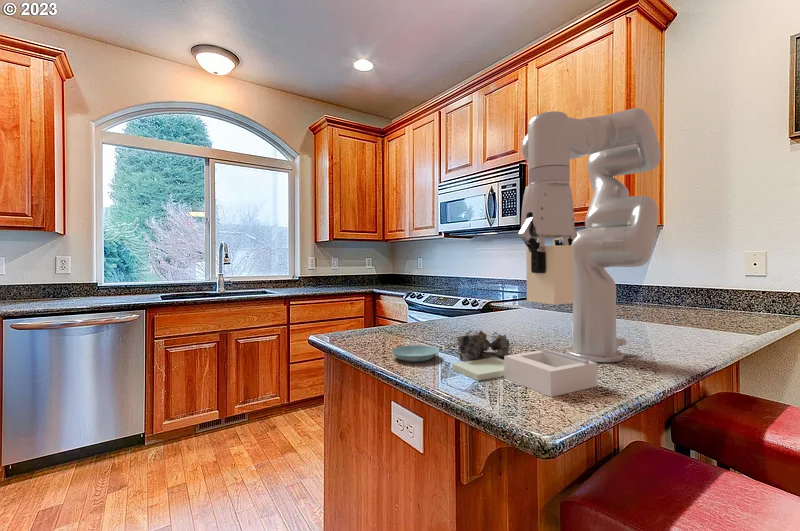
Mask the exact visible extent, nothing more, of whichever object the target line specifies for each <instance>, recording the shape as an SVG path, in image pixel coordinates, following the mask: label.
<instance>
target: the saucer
mask: <svg viewBox="0 0 800 531" xmlns="http://www.w3.org/2000/svg"><path fill="white" fill-rule="evenodd" d="M390 352H391V353H392V355H394V356H395V357H396V358H398V359H399V360H400V361H403V362H408V363H421V362H422V363H423V362H427V361H429V360H432V359H433V358H434V357H435V356H437V354H438V353H439V352H440V350H439V348H438V347H437V348H436V347H434V346H431V345H422V344H421V345H417V344H411V345H410V344H409V345H402V346H397V347H394V348H391V350H390Z"/></svg>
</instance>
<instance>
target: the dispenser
mask: <svg viewBox="0 0 800 531" xmlns="http://www.w3.org/2000/svg"><path fill="white" fill-rule="evenodd" d="M503 360H504V376H503V377H504V379H505V380H509V381H511V382H513V383H516V384H518V385H521V386H522V387H526V388H528V389H531V390H533V391H535V392H537V393H540V394H543V395H545V396H548V397H550V398H552V397H556V396H561V395H562V396H563V395H566V394H571V393H574V392H578V391H584V390H588V389H591V388H596V387H597V386H598V372H597V371H598V362H593V361H588V360H584V359H581V358H577V357H573V356H570V355H567V354H565V353H562V352H558V351H554V350H552V349H548V348H544V347H543V348H540V349H539V350H534V351H528V352H522V353H516V354H508V355H507V356H504V357H503Z"/></svg>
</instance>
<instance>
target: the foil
mask: <svg viewBox="0 0 800 531" xmlns="http://www.w3.org/2000/svg"><path fill="white" fill-rule="evenodd" d="M498 332H499V330H497V331H494V332H493V333H492V334H491V335H488V334H486V333H485V332H484V331H483V330H479V332H478V330H476V331H473V330H471V329H469V330H468V332H466V333H464V334H463V333H462V334H459V335H456V337H455V338H456V339H457V342H458V348H457V350H456V353H457V355H458V356H459V358H458V359H459V360H462V362H467V361H473V360H478V358H479V356H481V353H483V352H486V351H487V352H488V349H490V348H491V351H496V354H495V355H496V356H500V357H503V358H504V356H507V355H510V354H509V351H510V346H511V345H510V340H509V339H508V337H507V335H506V334H504V335H502V334H498ZM487 337H490V339H489V340H487Z"/></svg>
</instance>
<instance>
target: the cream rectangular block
mask: <svg viewBox="0 0 800 531" xmlns="http://www.w3.org/2000/svg"><path fill="white" fill-rule="evenodd" d="M543 252H546V272H545V273H532V272H531V252H529V251H528V247H527V246H526V253H525V254H526V257H525V258H526V302H531V303H533V302H534V303H537V304H538V303H539V304H547V305H554V306H555V305H565V304H573V245H554V246H553V245H544V249H543Z"/></svg>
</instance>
